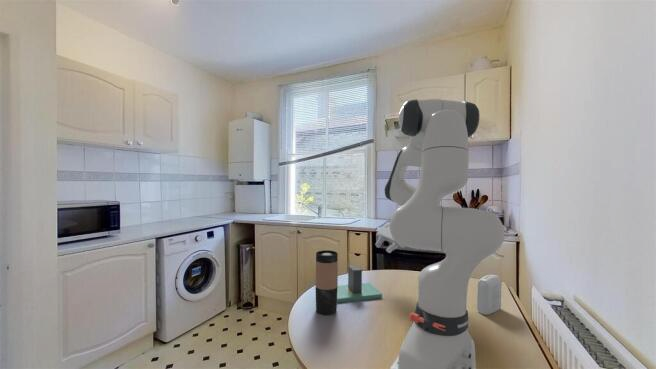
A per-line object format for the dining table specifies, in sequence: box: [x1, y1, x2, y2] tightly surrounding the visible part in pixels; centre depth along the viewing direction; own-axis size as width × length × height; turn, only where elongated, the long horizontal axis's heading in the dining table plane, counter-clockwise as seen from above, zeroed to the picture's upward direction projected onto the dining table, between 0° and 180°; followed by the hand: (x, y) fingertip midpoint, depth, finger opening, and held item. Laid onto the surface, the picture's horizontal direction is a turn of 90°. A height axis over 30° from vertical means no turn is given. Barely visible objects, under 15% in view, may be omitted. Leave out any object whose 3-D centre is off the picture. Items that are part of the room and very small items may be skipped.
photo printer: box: [476, 274, 503, 316], centre depth 99 cm, size 10×4×12 cm, turn 123°
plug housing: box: [347, 264, 363, 294], centre depth 112 cm, size 6×3×9 cm, turn 15°
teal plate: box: [337, 282, 383, 304], centre depth 112 cm, size 12×18×6 cm, turn 105°
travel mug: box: [315, 249, 339, 316], centre depth 98 cm, size 8×8×20 cm
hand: (381, 248), depth 115 cm, fingers open, 8 cm apart
